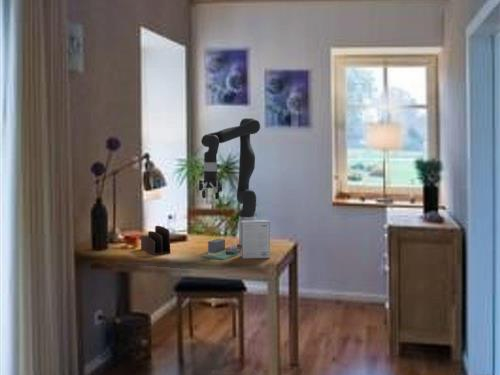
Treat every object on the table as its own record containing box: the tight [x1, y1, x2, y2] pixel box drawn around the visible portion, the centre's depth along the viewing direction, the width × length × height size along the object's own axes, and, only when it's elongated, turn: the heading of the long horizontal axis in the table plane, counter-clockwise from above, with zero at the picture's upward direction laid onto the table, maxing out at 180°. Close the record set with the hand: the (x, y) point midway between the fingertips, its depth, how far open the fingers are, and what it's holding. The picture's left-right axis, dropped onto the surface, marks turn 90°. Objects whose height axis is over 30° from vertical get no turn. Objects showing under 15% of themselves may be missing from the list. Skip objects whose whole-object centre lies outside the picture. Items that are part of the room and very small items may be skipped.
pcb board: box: [201, 243, 242, 261], centre depth 367 cm, size 18×14×6 cm
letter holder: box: [140, 225, 171, 256], centre depth 377 cm, size 10×20×14 cm, turn 31°
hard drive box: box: [241, 219, 271, 259], centre depth 362 cm, size 16×8×20 cm, turn 92°
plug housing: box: [207, 238, 226, 254], centre depth 366 cm, size 10×5×6 cm, turn 150°
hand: (210, 198), depth 376 cm, fingers open, 8 cm apart
